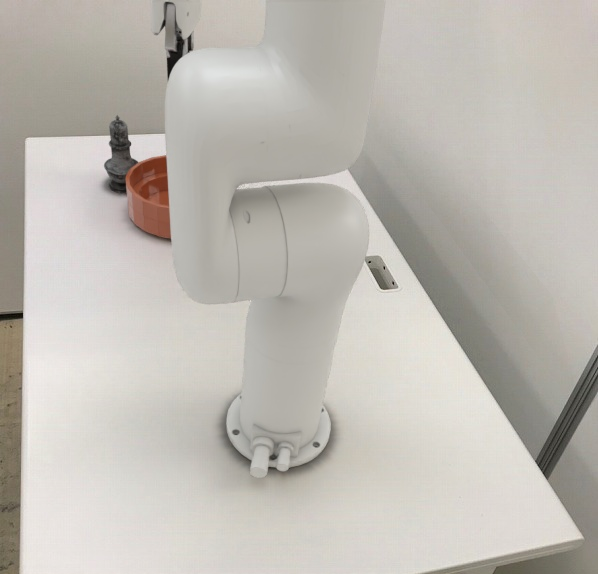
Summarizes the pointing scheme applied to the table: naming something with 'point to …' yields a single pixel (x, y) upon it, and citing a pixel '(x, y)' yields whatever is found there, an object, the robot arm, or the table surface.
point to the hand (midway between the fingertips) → (181, 82)
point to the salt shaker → (119, 156)
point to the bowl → (149, 196)
